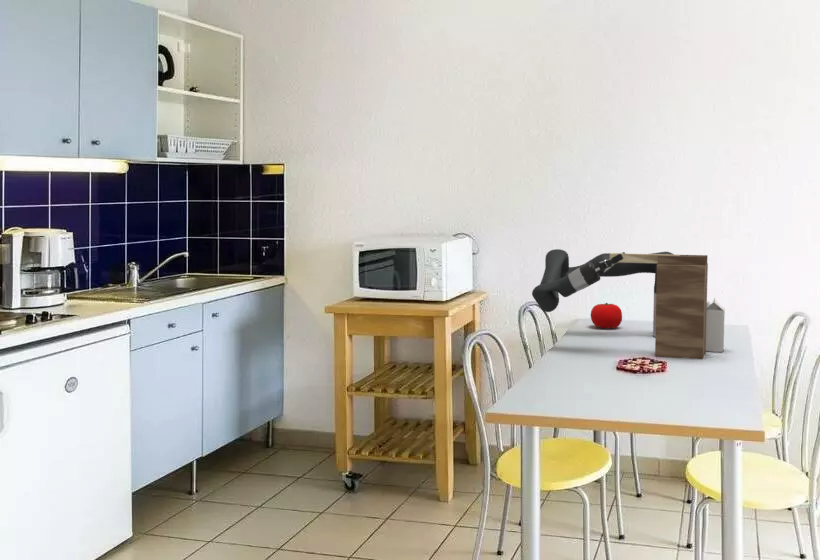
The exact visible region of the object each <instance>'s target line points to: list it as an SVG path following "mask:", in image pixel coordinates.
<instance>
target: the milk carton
mask: <svg viewBox="0 0 820 560" xmlns="http://www.w3.org/2000/svg"><path fill="white" fill-rule="evenodd" d="M725 311H726V310H725V307H724V306H723V305H721V304H720V303H719V302H718V301H717V300H716V296H714V297H713V300H712V301H710V300H707V318H706V352H710V353H711V352H713V353H714V352H715V353H723V352H724V348H725V345H724V344H725V315H726V314H725V313H726V312H725Z"/></svg>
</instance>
